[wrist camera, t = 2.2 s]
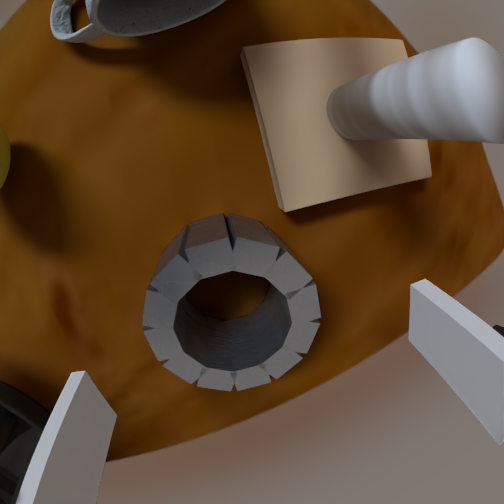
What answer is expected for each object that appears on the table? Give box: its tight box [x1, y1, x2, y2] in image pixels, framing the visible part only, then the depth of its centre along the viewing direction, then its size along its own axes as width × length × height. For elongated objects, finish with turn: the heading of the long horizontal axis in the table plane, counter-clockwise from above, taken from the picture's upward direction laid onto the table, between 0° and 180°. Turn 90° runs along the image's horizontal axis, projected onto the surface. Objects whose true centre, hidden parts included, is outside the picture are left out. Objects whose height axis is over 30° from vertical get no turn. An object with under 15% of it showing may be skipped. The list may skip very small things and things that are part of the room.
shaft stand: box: [240, 38, 504, 212], centre depth 10 cm, size 10×9×11 cm
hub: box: [142, 213, 321, 391], centre depth 15 cm, size 8×8×5 cm
